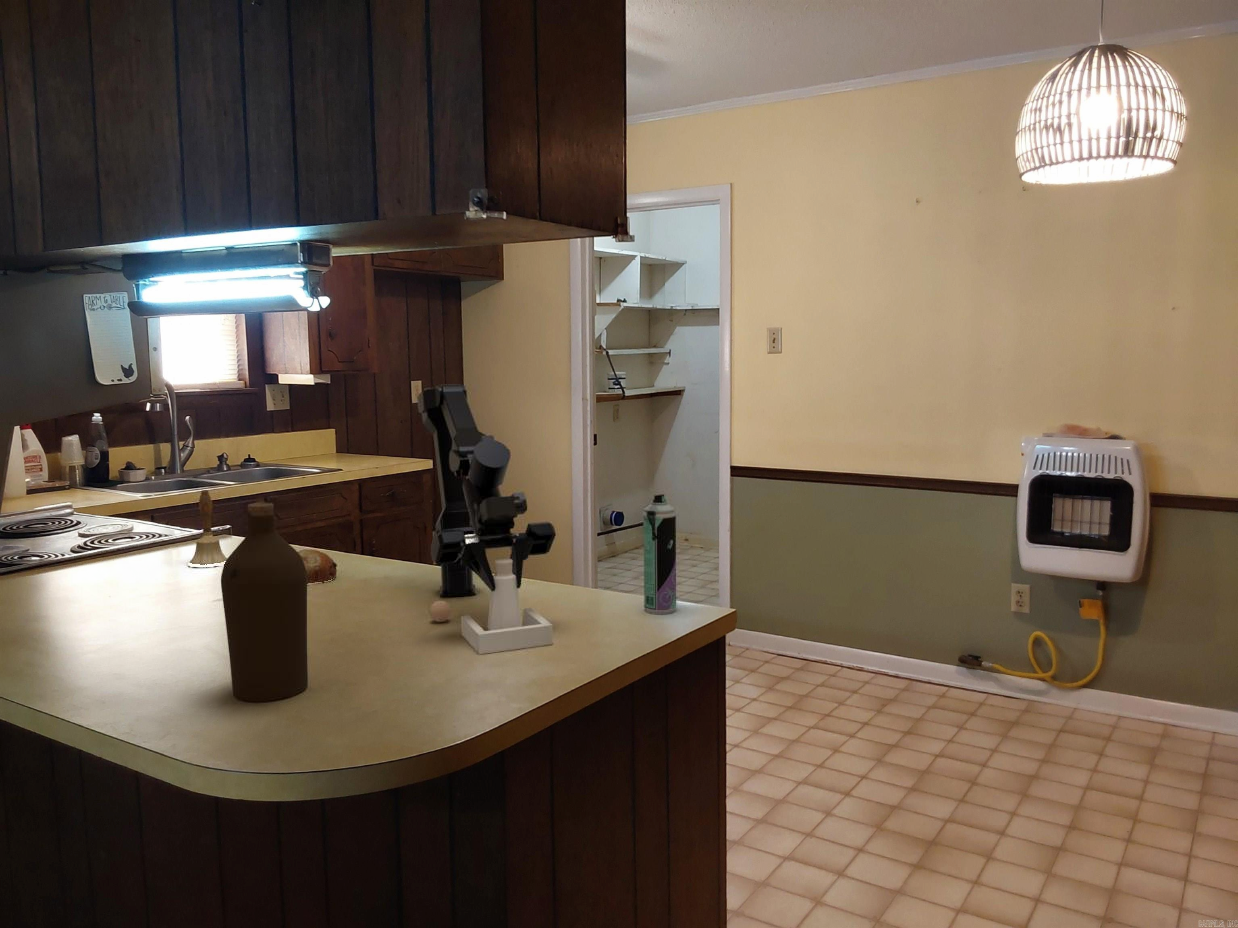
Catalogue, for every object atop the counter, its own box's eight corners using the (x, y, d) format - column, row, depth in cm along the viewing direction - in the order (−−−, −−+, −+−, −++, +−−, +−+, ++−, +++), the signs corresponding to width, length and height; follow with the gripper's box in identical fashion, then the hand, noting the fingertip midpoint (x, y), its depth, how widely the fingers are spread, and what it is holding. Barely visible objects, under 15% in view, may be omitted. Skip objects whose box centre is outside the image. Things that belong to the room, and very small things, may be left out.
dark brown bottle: (302, 702, 123) (291, 509, 120) (216, 706, 122) (204, 512, 119) (320, 674, 133) (311, 497, 130) (242, 677, 133) (231, 498, 130)
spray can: (673, 614, 161) (673, 497, 159) (641, 613, 162) (640, 496, 160) (678, 606, 167) (677, 492, 164) (647, 605, 168) (646, 491, 165)
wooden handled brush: (238, 561, 207) (234, 488, 205) (207, 569, 200) (202, 494, 198) (210, 558, 211) (205, 486, 209) (178, 566, 203) (173, 492, 201)
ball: (430, 619, 160) (429, 598, 160) (451, 618, 161) (450, 597, 161) (429, 625, 157) (429, 604, 157) (451, 623, 158) (450, 603, 157)
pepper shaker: (489, 624, 152) (487, 555, 150) (524, 623, 152) (522, 555, 150) (485, 634, 146) (483, 563, 145) (521, 633, 146) (519, 563, 145)
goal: (461, 634, 151) (461, 616, 151) (530, 625, 156) (530, 607, 155) (479, 654, 142) (478, 634, 141) (552, 644, 146) (552, 624, 146)
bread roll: (292, 593, 194) (272, 560, 191) (338, 567, 197) (319, 534, 194) (296, 605, 185) (275, 570, 182) (345, 578, 188) (325, 543, 185)
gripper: (434, 479, 146) (454, 565, 137) (551, 472, 153) (576, 553, 145) (425, 521, 154) (443, 605, 146) (536, 512, 161) (559, 592, 153)
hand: (506, 588), depth 147 cm, fingers closed on pepper shaker, 4 cm apart
